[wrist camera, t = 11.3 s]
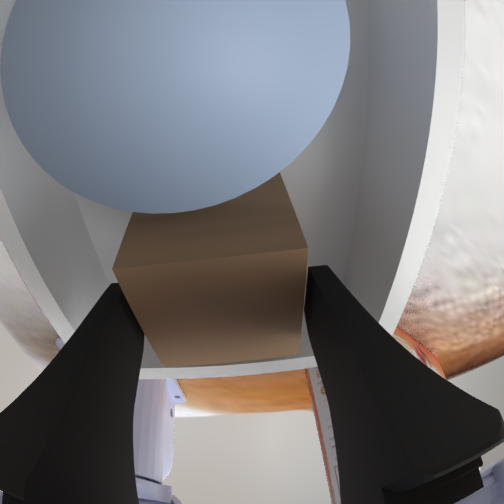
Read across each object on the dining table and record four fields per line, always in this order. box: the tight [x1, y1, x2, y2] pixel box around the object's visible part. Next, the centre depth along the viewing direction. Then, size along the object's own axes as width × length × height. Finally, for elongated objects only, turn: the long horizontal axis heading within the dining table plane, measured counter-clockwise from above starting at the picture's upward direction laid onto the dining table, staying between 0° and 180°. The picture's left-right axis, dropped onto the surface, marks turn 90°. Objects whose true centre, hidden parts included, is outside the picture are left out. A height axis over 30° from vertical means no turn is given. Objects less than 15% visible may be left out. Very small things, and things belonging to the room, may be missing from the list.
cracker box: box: [305, 326, 481, 504], centre depth 14 cm, size 14×6×21 cm, turn 48°
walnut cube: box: [112, 172, 308, 367], centre depth 11 cm, size 5×5×5 cm
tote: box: [0, 0, 465, 379], centre depth 9 cm, size 18×14×5 cm
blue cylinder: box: [0, 0, 350, 214], centre depth 6 cm, size 5×5×7 cm
